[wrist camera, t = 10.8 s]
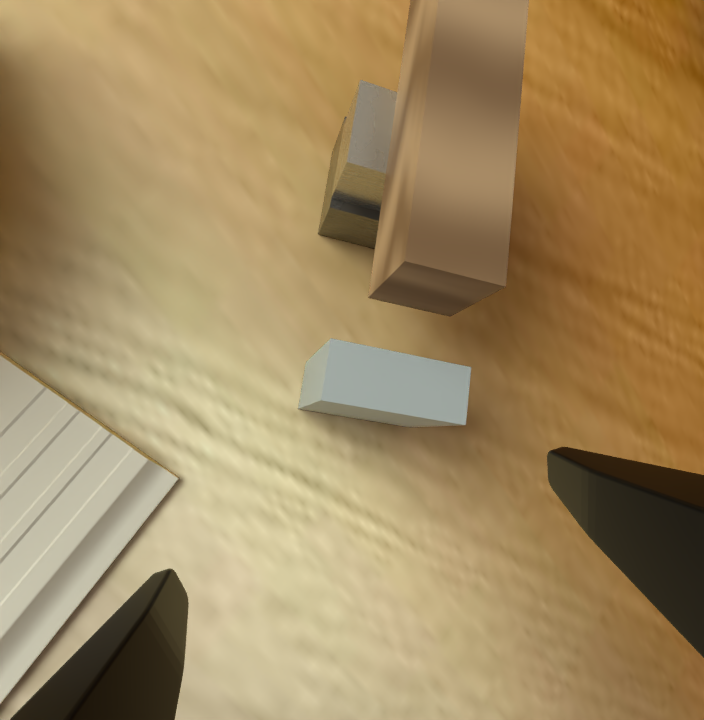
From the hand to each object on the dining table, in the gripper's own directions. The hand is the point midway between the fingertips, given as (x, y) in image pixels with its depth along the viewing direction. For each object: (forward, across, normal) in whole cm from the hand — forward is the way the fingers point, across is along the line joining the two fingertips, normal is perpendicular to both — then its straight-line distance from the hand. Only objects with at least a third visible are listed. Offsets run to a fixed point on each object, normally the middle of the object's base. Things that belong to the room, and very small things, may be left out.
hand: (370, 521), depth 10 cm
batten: (+13, +7, +7) cm, 16 cm away
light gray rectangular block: (+12, +2, -4) cm, 13 cm away
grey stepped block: (+18, +6, +4) cm, 20 cm away
